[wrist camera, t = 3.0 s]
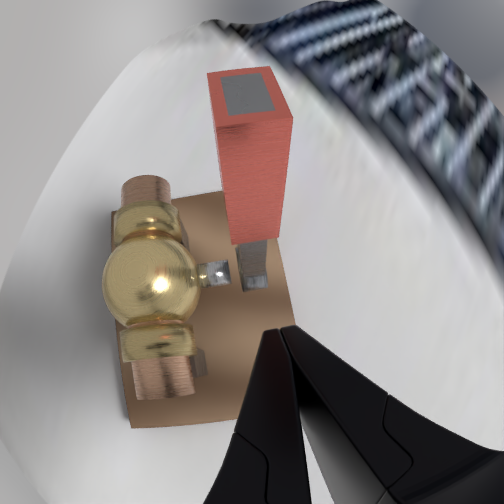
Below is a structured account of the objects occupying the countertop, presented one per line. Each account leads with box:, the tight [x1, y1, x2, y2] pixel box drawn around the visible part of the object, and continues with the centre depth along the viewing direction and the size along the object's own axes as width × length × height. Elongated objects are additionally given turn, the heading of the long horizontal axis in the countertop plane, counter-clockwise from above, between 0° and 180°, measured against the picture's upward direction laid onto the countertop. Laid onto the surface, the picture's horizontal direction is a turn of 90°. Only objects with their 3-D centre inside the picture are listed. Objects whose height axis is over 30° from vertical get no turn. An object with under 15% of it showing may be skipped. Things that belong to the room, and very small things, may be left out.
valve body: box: [102, 175, 232, 400], centre depth 17 cm, size 11×6×8 cm, turn 10°
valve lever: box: [207, 66, 293, 292], centre depth 12 cm, size 2×2×11 cm
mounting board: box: [111, 191, 296, 428], centre depth 21 cm, size 16×12×1 cm
